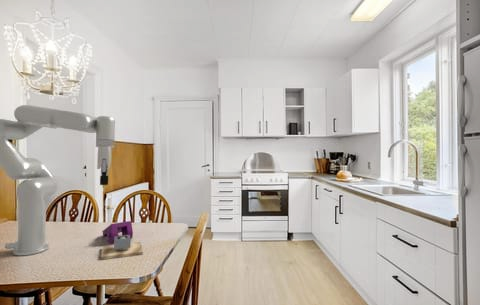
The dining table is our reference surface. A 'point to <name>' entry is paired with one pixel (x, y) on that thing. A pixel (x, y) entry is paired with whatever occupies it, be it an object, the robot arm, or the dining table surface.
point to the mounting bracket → (118, 230)
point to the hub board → (121, 251)
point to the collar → (122, 242)
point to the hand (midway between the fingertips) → (104, 184)
